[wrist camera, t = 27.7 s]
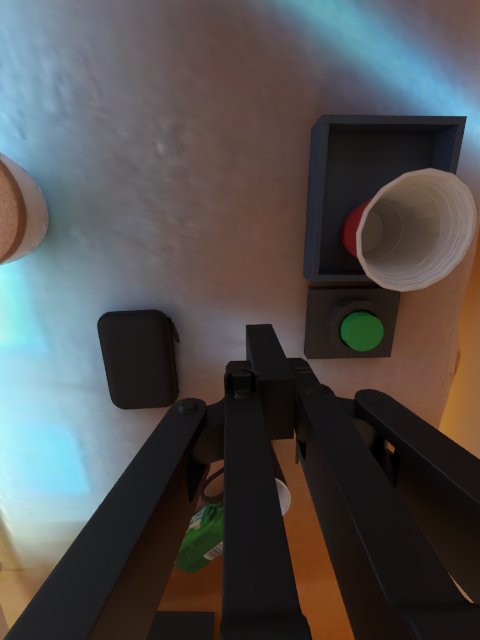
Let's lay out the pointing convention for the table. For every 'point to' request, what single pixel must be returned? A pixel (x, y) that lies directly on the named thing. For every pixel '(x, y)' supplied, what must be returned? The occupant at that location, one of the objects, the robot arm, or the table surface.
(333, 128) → the shallow tray
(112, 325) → the carrying case
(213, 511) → the snack package
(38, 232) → the lidded bowl
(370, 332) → the button
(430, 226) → the plastic cup
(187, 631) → the office phone
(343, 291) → the control block
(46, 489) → the table surface
